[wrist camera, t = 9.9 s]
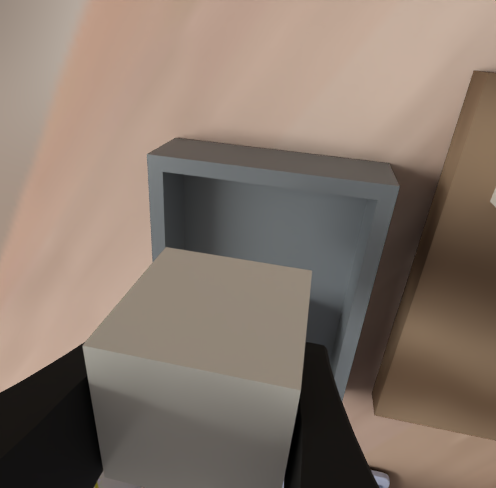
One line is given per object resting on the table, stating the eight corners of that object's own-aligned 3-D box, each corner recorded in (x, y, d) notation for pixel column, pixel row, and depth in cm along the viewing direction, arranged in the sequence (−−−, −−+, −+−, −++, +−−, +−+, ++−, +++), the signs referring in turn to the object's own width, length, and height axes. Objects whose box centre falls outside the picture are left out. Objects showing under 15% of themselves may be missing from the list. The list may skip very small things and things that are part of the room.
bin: (332, 389, 22) (333, 435, 19) (179, 358, 23) (159, 397, 21) (388, 163, 16) (399, 186, 13) (175, 137, 17) (146, 154, 14)
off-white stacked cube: (292, 381, 12) (275, 521, 8) (169, 356, 12) (104, 477, 9) (312, 270, 10) (300, 390, 6) (165, 246, 10) (82, 345, 7)
